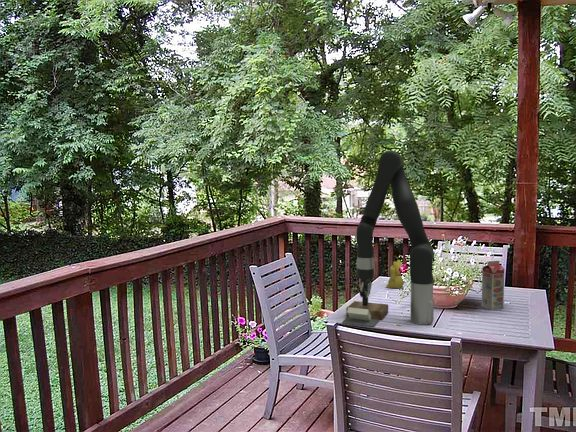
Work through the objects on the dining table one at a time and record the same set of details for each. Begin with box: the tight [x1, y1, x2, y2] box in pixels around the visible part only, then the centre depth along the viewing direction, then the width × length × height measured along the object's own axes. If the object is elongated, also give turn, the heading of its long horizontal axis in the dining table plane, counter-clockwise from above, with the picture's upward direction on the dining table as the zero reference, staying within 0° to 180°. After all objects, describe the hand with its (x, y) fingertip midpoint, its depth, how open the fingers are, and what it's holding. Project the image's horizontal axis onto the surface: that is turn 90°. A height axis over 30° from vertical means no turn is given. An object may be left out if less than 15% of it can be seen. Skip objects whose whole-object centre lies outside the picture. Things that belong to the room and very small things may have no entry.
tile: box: [346, 306, 371, 321], centre depth 213 cm, size 9×6×2 cm
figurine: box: [386, 259, 405, 289], centre depth 271 cm, size 11×9×15 cm
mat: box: [341, 316, 380, 328], centre depth 213 cm, size 14×10×1 cm
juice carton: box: [481, 260, 505, 311], centre depth 230 cm, size 7×7×22 cm
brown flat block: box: [345, 300, 389, 321], centre depth 223 cm, size 16×12×4 cm
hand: (365, 305), depth 219 cm, fingers closed
